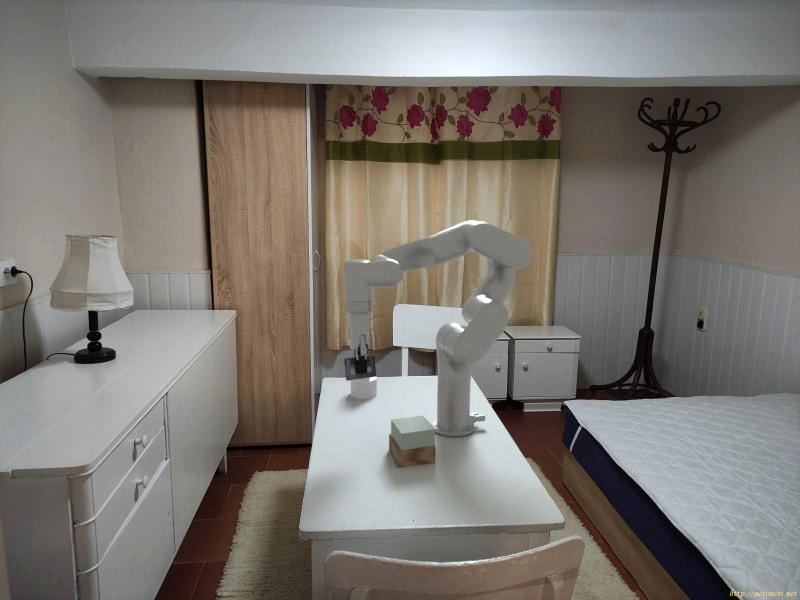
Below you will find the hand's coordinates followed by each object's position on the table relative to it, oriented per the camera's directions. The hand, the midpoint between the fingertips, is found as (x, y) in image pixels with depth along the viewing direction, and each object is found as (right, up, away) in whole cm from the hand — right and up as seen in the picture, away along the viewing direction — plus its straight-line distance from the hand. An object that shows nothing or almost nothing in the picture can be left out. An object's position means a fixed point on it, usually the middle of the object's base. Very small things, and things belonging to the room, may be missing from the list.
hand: (360, 371), depth 147 cm
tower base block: (+14, -22, -5) cm, 26 cm away
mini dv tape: (0, -2, 0) cm, 2 cm away
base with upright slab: (-2, -13, +39) cm, 41 cm away
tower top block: (+14, -17, -6) cm, 23 cm away
